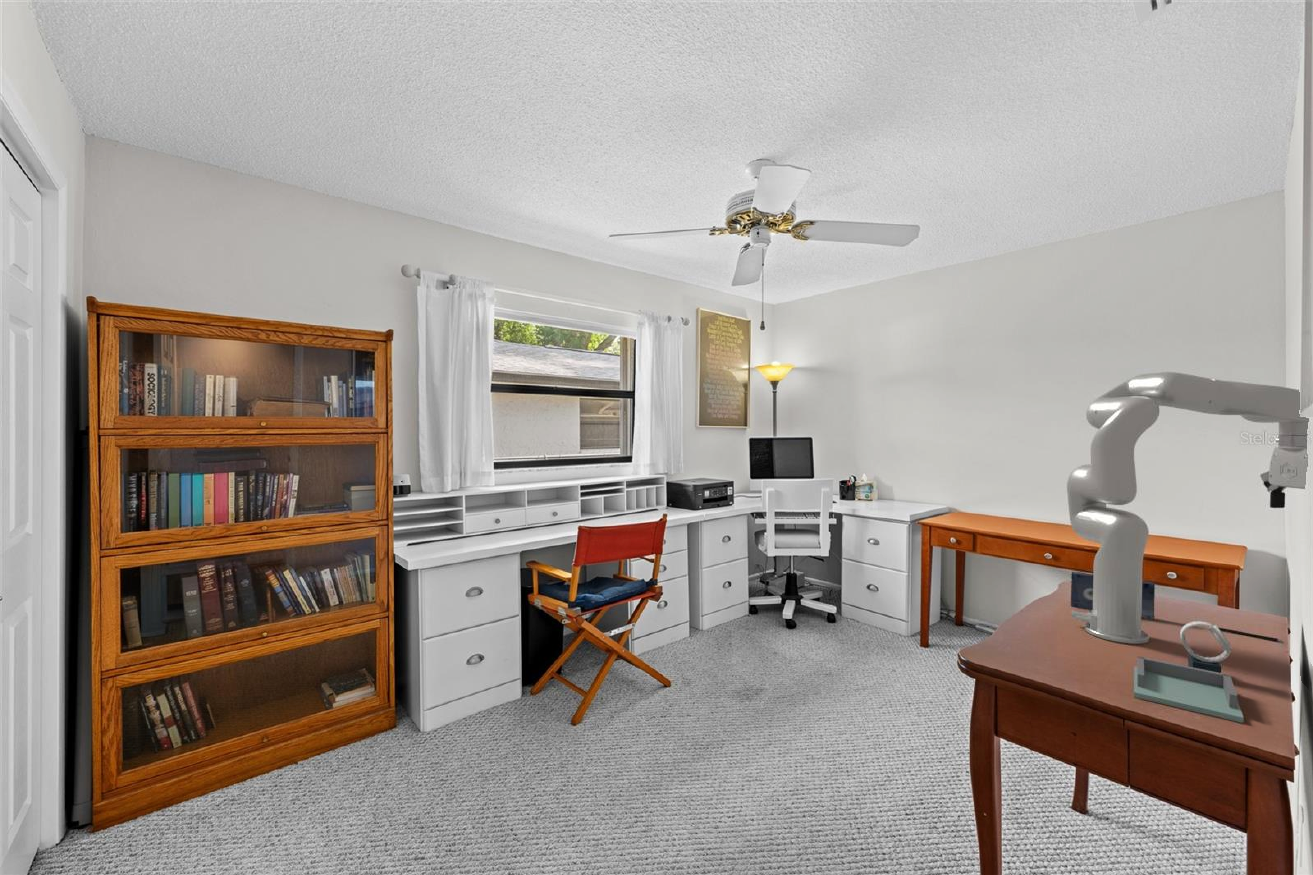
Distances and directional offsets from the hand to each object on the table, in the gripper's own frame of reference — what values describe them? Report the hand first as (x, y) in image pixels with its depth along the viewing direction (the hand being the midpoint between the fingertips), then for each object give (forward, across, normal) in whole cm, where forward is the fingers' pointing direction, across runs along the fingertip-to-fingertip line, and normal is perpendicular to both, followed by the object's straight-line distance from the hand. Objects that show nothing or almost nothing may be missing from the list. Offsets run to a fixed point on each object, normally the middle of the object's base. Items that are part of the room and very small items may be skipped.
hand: (1298, 510), depth 141 cm
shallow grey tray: (+31, +31, -57) cm, 72 cm away
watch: (+31, +22, -44) cm, 58 cm away
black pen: (+32, +1, -13) cm, 34 cm away
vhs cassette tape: (+32, -17, -33) cm, 49 cm away
